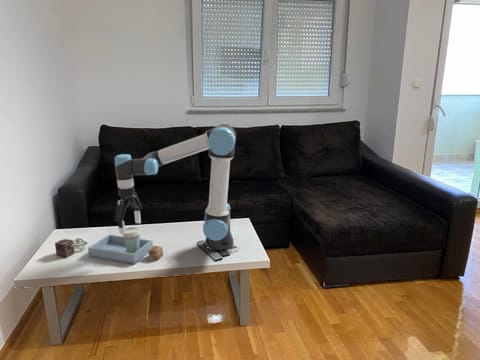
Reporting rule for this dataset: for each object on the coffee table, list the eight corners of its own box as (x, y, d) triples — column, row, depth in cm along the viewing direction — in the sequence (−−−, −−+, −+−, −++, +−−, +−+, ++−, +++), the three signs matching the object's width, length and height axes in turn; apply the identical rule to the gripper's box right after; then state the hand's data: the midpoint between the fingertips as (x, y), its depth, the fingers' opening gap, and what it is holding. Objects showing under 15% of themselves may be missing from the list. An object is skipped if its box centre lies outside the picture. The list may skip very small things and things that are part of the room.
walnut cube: (163, 255, 189) (162, 246, 188) (158, 260, 185) (157, 251, 183) (154, 254, 191) (153, 245, 189) (149, 259, 186) (148, 249, 185)
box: (65, 258, 187) (63, 244, 185) (56, 256, 189) (54, 243, 187) (74, 253, 192) (73, 240, 190) (65, 251, 194) (63, 238, 192)
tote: (153, 249, 196) (152, 240, 195) (134, 264, 181) (134, 254, 179) (110, 242, 204) (109, 234, 202) (89, 257, 188) (88, 247, 187)
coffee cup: (144, 249, 194) (142, 227, 191) (137, 256, 186) (135, 234, 183) (129, 247, 196) (127, 226, 192) (121, 255, 188) (118, 232, 184)
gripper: (133, 179, 193) (137, 218, 199) (102, 194, 170) (108, 237, 176) (146, 180, 191) (150, 219, 197) (117, 195, 168) (122, 239, 174)
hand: (130, 228), depth 187 cm, fingers open, 13 cm apart
